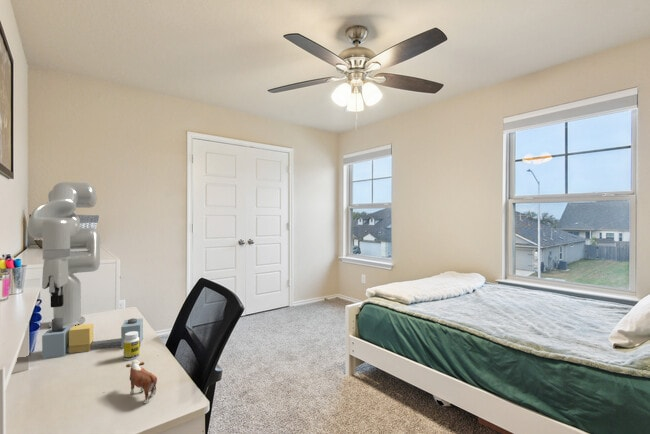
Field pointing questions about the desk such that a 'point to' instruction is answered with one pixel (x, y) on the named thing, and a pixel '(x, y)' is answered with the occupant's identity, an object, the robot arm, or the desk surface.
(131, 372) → the bull figurine
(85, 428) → the desk surface
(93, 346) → the rail
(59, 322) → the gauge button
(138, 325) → the frame
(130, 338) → the supplement bottle
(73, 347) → the block
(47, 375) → the desk surface
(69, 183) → the robot arm
